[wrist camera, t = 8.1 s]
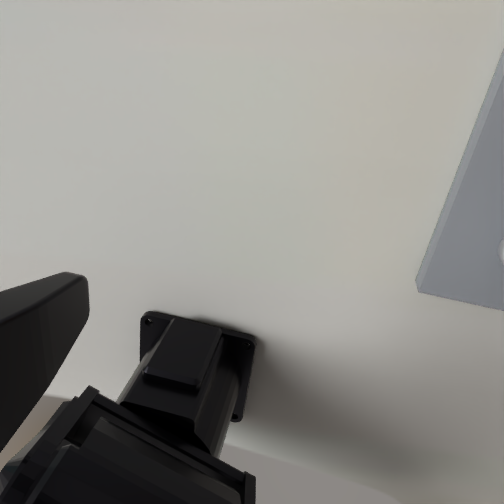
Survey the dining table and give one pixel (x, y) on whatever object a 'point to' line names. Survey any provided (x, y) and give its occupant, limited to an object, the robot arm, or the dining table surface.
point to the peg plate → (473, 216)
